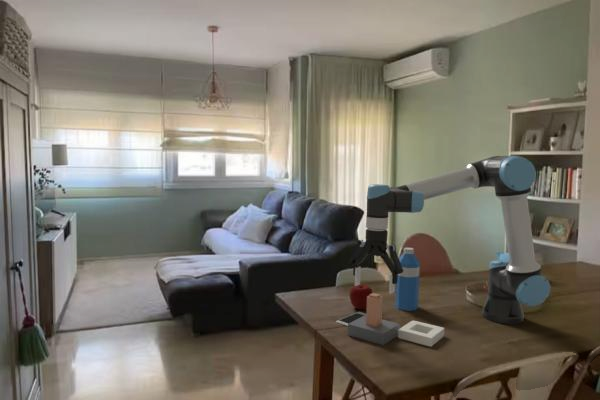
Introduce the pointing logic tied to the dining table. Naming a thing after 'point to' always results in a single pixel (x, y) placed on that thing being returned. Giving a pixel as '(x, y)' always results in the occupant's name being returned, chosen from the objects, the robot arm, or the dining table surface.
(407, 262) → the water bottle
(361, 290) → the apple
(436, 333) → the white square frame
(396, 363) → the dining table surface
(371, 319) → the plug
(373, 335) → the grey flat block
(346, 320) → the smartphone
